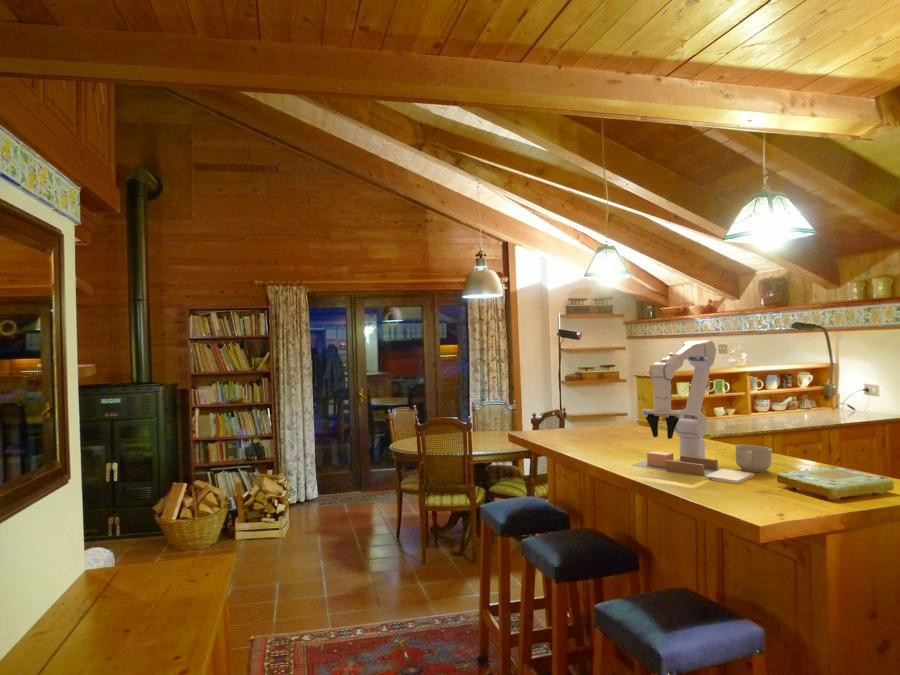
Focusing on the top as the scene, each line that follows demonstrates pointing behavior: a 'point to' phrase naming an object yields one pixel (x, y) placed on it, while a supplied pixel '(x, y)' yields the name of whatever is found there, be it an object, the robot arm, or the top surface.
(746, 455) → the teacup
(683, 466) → the tunnel board
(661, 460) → the terracotta block
